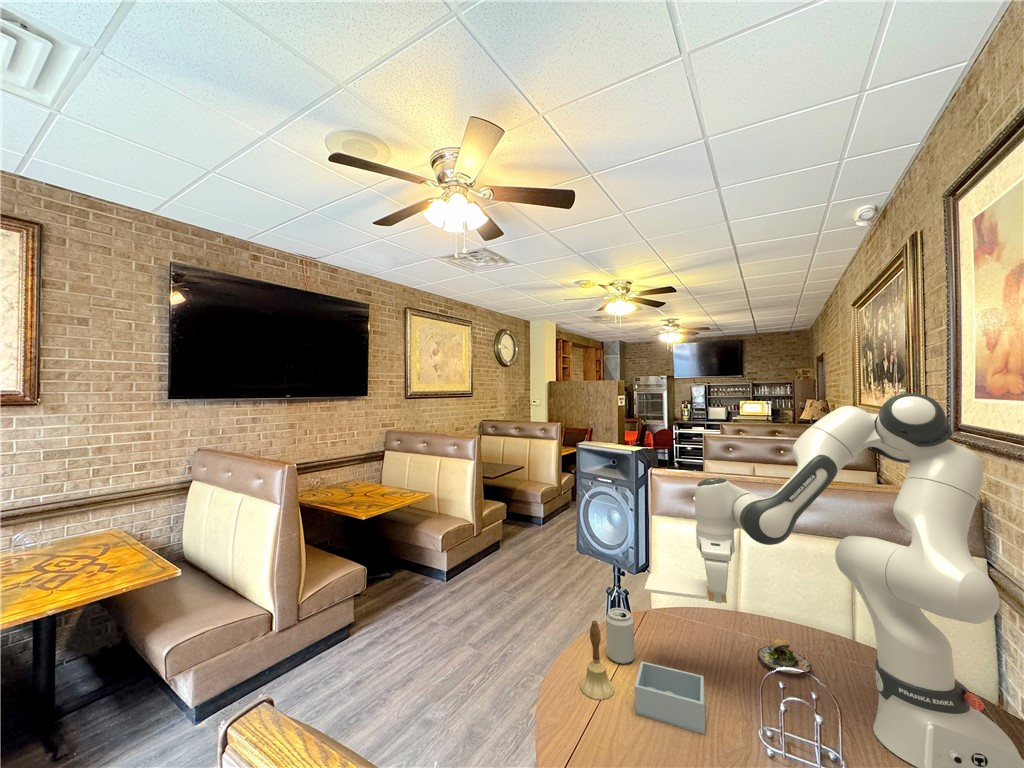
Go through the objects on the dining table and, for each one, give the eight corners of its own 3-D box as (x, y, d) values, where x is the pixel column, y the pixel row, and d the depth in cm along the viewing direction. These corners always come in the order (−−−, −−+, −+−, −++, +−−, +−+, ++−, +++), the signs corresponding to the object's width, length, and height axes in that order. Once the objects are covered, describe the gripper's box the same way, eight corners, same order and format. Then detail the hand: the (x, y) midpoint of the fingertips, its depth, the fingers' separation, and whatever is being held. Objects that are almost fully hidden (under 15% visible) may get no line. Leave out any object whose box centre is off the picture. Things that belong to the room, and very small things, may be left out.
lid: (725, 591, 107) (724, 581, 107) (727, 609, 97) (726, 598, 97) (650, 582, 115) (649, 573, 116) (645, 598, 105) (644, 588, 106)
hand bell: (617, 701, 95) (614, 630, 96) (581, 699, 95) (579, 629, 97) (611, 678, 103) (609, 613, 104) (579, 676, 104) (577, 612, 105)
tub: (704, 703, 93) (703, 676, 94) (704, 734, 84) (703, 704, 85) (642, 686, 99) (641, 661, 100) (635, 714, 90) (634, 686, 91)
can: (636, 667, 107) (634, 620, 108) (607, 664, 108) (605, 618, 109) (633, 650, 114) (632, 607, 115) (606, 648, 116) (605, 605, 117)
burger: (760, 673, 104) (758, 643, 105) (755, 648, 115) (753, 621, 115) (817, 685, 99) (815, 654, 99) (806, 658, 110) (804, 630, 110)
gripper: (702, 530, 115) (704, 580, 114) (701, 552, 96) (703, 612, 95) (727, 532, 112) (729, 584, 111) (731, 556, 94) (734, 618, 93)
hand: (717, 597), depth 103 cm, fingers closed on lid, 3 cm apart
